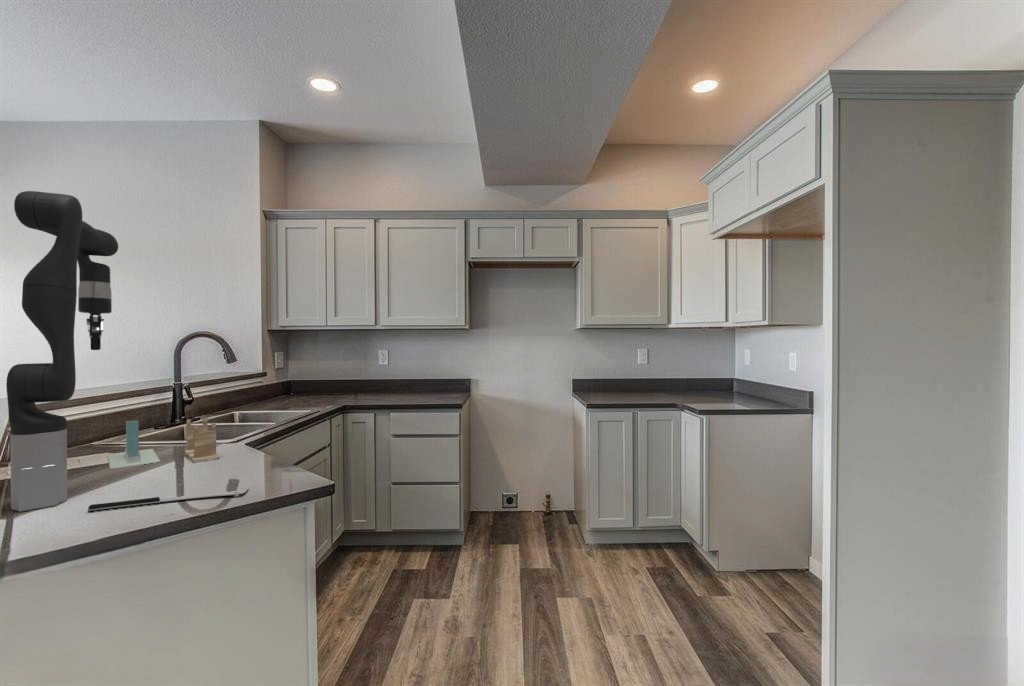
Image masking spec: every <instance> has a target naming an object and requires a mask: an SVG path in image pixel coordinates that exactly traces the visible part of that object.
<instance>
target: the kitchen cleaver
mask: <svg viewBox="0 0 1024 686" xmlns="http://www.w3.org/2000/svg"><path fill="white" fill-rule="evenodd" d="M246 492H248V491H247V490H242V491H231V492H222V493H212V494H199V495H191V496H181V497H169V498H163V497H161V498H160V496H155V497H149V498H138V499H132V500H123V501H122V500H121V501H115V502H105V503H94V504H90V505H88V508H87V512H88V513H95V512H94V511H98V512H102V511H101V510H106V511H110V510H109V509H114V510H119V509H118V508H123V509H128V508H127V507H131V508H136V507H135V506H140V507H144V506H143V505H148V506H152V505H151V504H156V505H160V504H159V503H165V502H173V501H181V500H190V499H191V500H192V499H200V498H213V497H223V496H226V497H227V496H238V495H243V494H245V493H246Z"/></svg>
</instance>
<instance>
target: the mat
mask: <svg viewBox="0 0 1024 686" xmlns="http://www.w3.org/2000/svg"><path fill="white" fill-rule="evenodd" d="M139 453H140V455H141V462H137V463H130V464H128V461H127V458H126V455H125V451H124V452H116V453H109V454H107V460H108V465H109V466H108V467H109V470H111V471H112V470H118V469H124V468H130V467H131V468H132V467H138V466H145V465H144V464H146V465H151V464H150V463H153V464H158V463H157V462H159V463H161V459H159V457H158V455H157V453H156V452H155V450H154V449H153V448H149V449H148V448H147V449H139Z"/></svg>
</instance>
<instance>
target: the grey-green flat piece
mask: <svg viewBox="0 0 1024 686" xmlns="http://www.w3.org/2000/svg"><path fill="white" fill-rule="evenodd" d="M139 424H140V423H139V420H127V421H125V432H126V433H125V444H126V447H125V448H124V452H125V455H126V458H127V461H128V464H130V463H137V462H141V455H140V453H139V450H140V448H139V447H140V445H139V443H140V440H139V437H140V433H139V432H140V430H139V428H140V427H139V426H140V425H139Z"/></svg>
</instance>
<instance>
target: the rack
mask: <svg viewBox="0 0 1024 686" xmlns="http://www.w3.org/2000/svg"><path fill="white" fill-rule="evenodd" d="M185 422H186V426H185V427H186V428H185V429H186V433H185V434H186V435H185V436H186V448H184V449H183V453H184V455H187V456H188V457H187V456H186V457H187V458H188V459H189V460H190V461H191V463H192V464H195V463H194V462H197V463H201V462H200V461H203V462H206V461H205V460H210V461H212V460H211V459H217V458H219V459H220V456H219V454H218V453H217V423H216V422H212V423H210V426H211V427H210V430H208V418H207V417H203V418H202V424H193V425H192V419H190V418H189V419H186V420H185ZM217 460H218V459H217Z"/></svg>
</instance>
